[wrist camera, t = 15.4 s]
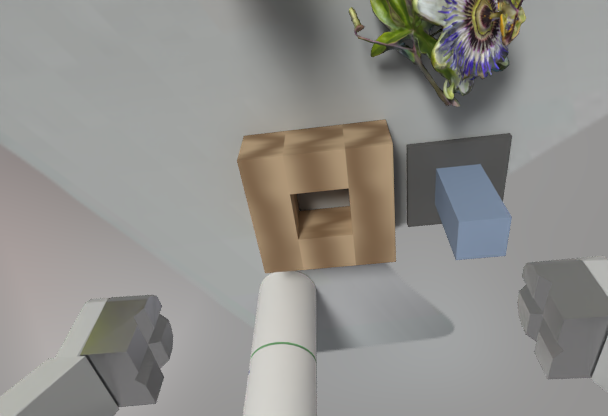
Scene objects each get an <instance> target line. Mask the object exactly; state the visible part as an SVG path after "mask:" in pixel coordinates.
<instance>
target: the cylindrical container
mask: <svg viewBox="0 0 608 416" xmlns="http://www.w3.org/2000/svg"><path fill="white" fill-rule="evenodd" d="M316 363H317V362H316V287H315V285H314V283H313V281H312V280H311V279H310V278H309V277H307V276H306V275H304V274H302V273H300V272H297V271H285V272H274V273H272V274H270V275H268V276H267V277H266V278H265V279H264V280H263V281H262V283H261V285H260V290H259V298H258V305H257V313H256V320H255V328H254V336H253V343H252V351H251V358H250V366H249V374H248V381H247V389H246V396H245V404H244V411H243V416H317V379H316V378H317V377H316V376H317V375H316V374H317V371H316V370H317V369H316V368H317V367H316V366H317V365H316Z"/></svg>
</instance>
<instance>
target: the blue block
mask: <svg viewBox="0 0 608 416" xmlns="http://www.w3.org/2000/svg"><path fill="white" fill-rule="evenodd" d="M435 206H436V208H437V211H438V214H439V216H440V219H441V222H442V224H443V227H444V229H445V232H446V235H447V238H448V240H449V243H450V246H451V248H452V251H453V254H454V256H455V259H456V260H462V259H474V258H486V257H498V256H505V255H506V249H507V243H508V237H509V231H510V224H511V218H512V217H511V215H510V213H509V212H508V210H507V208H506V207H505V205H504V203H503V201H502V200H501V198H500V196H499V195H498V193H497V191H496V190H495V188H494V186H493V184H492V183H491V181H490V179H489V178H488V176H487V174H486V173H485V171H484V169H483V167H482V166H481V164H476V165H467V166H457V167H447V168H437V169H436V187H435Z"/></svg>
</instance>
